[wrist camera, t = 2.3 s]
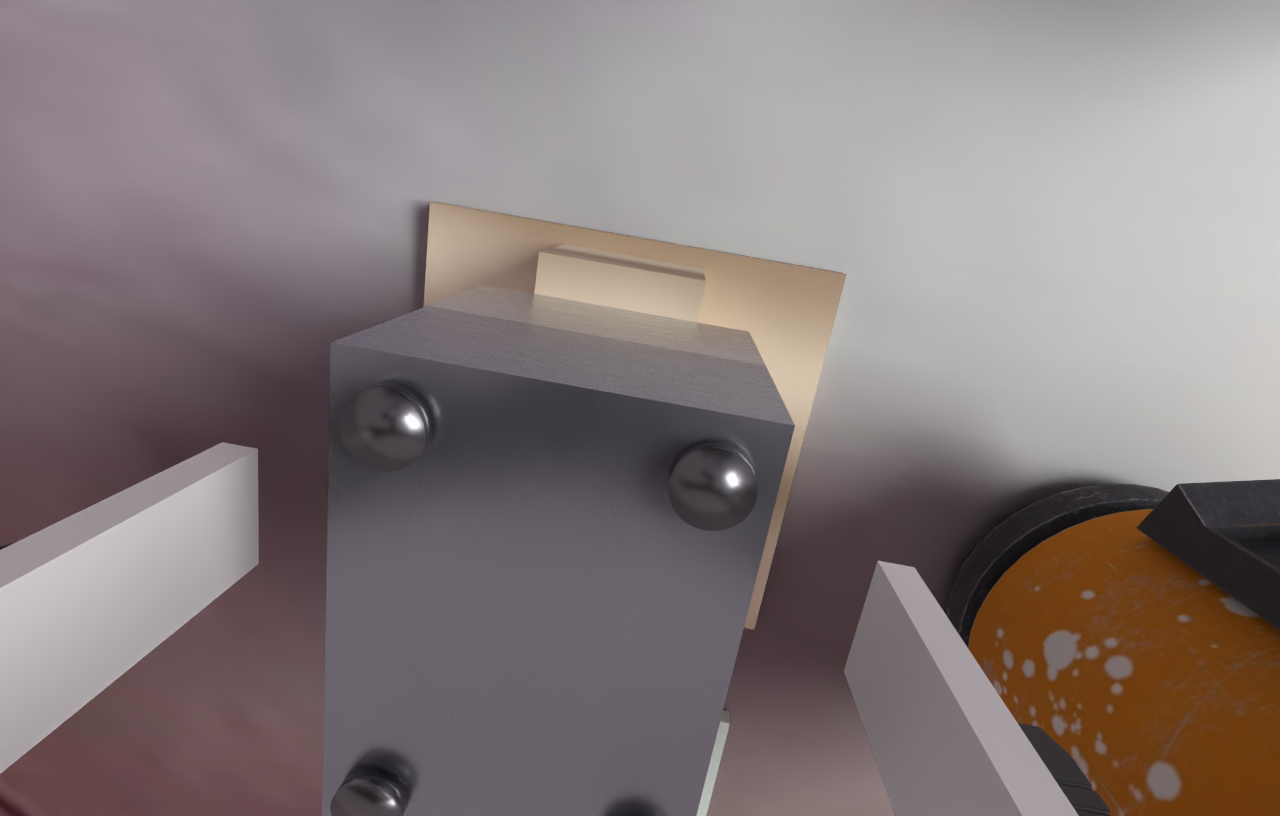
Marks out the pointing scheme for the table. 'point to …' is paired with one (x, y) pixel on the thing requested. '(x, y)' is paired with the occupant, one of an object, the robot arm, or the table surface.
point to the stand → (653, 299)
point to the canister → (1140, 639)
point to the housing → (539, 555)
